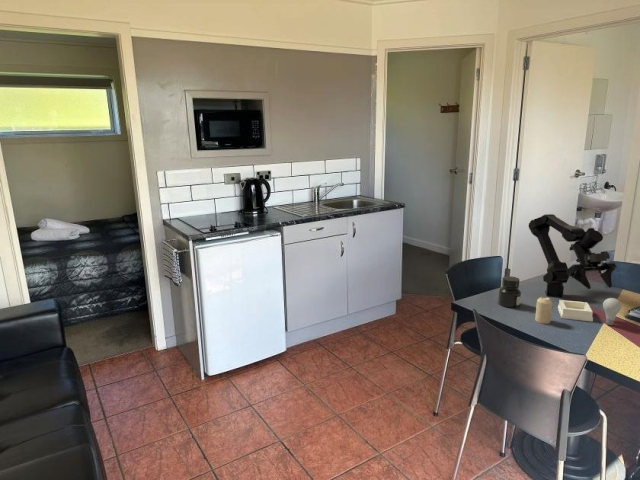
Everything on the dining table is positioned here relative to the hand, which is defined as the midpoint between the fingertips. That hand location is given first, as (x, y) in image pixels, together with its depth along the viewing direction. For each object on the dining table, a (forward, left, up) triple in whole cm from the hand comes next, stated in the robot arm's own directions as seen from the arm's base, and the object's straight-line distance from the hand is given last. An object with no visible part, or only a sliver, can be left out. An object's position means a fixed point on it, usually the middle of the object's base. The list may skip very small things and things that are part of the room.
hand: (600, 288), depth 177 cm
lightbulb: (+3, -6, -13) cm, 15 cm away
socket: (-8, +1, -13) cm, 15 cm away
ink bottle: (-33, +5, -13) cm, 36 cm away
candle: (-21, -10, -13) cm, 26 cm away
